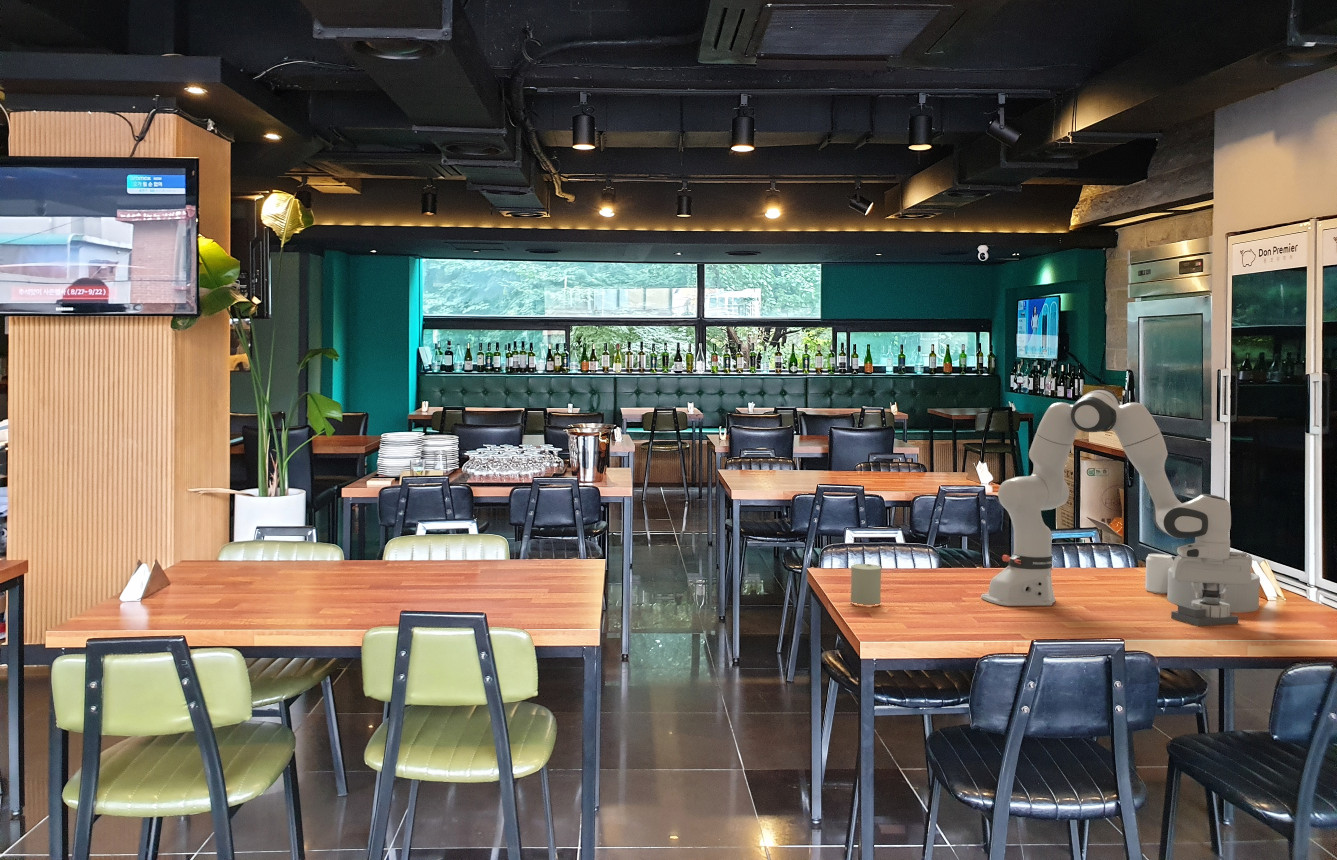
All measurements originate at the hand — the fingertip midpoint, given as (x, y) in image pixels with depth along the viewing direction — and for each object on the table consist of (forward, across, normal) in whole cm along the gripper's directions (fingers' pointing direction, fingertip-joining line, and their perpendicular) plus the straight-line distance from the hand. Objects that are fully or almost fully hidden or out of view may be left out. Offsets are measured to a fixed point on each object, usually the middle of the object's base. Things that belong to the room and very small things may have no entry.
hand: (1210, 598), depth 287 cm
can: (+7, +97, +6) cm, 98 cm away
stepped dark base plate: (+6, +2, +1) cm, 7 cm away
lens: (+3, 0, +1) cm, 3 cm away
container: (+7, -7, -25) cm, 27 cm away
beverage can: (+7, +5, -40) cm, 41 cm away
